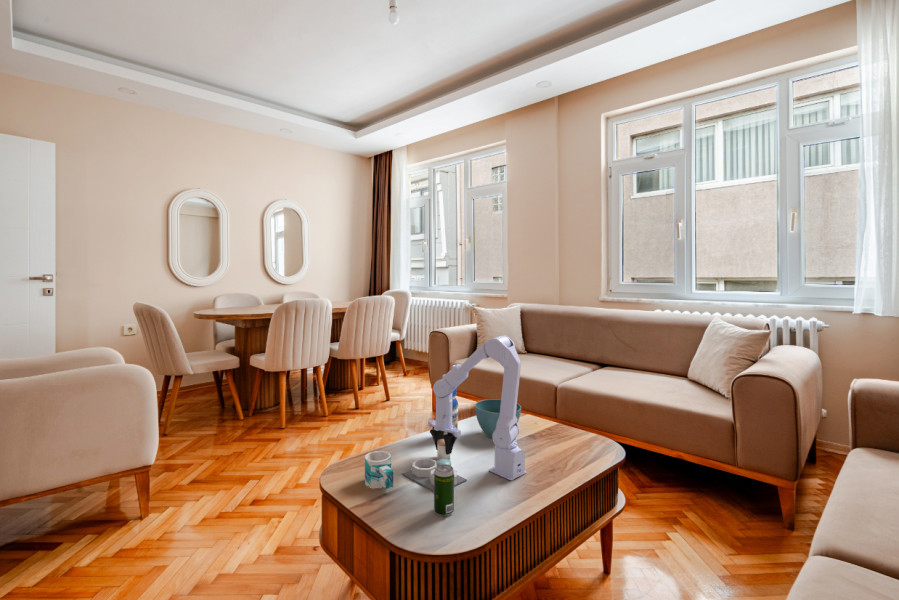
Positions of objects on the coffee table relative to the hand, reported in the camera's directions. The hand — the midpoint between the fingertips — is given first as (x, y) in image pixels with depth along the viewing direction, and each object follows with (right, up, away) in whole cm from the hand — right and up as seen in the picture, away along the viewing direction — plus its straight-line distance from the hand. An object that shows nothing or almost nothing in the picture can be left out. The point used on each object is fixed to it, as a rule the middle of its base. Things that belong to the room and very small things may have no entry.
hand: (443, 451), depth 150 cm
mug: (-19, -4, -19) cm, 27 cm away
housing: (-3, -3, -14) cm, 15 cm away
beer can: (+1, -5, -34) cm, 34 cm away
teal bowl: (+21, -2, +22) cm, 30 cm away
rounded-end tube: (0, -2, 0) cm, 2 cm away
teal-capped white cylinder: (0, -3, -18) cm, 18 cm away
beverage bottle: (+1, -2, +19) cm, 19 cm away
